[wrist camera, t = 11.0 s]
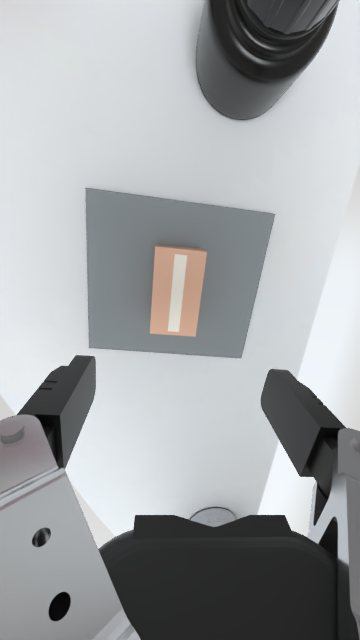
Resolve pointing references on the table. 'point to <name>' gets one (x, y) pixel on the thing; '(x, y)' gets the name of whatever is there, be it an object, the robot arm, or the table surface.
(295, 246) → the table surface
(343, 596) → the robot arm
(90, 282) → the mat
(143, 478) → the table surface
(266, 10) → the ink bottle
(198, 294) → the box
